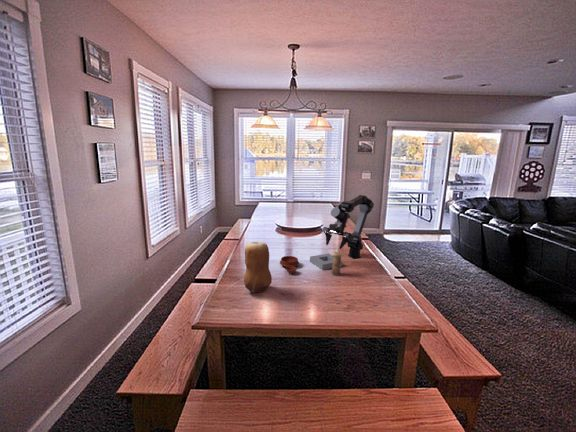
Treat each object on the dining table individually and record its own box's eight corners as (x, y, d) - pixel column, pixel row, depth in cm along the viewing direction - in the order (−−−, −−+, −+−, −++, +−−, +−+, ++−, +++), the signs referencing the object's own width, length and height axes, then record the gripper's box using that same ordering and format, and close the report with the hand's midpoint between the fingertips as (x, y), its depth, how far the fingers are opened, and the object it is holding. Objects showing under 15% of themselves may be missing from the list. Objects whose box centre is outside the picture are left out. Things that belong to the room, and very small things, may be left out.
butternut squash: (257, 281, 155) (257, 236, 149) (277, 290, 146) (277, 242, 141) (237, 291, 144) (237, 242, 138) (257, 300, 136) (257, 249, 130)
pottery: (297, 262, 183) (298, 255, 182) (302, 275, 164) (302, 268, 163) (279, 262, 182) (279, 255, 181) (281, 276, 163) (281, 268, 162)
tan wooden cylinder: (336, 272, 169) (338, 251, 167) (341, 275, 166) (343, 254, 163) (330, 273, 167) (331, 252, 165) (335, 276, 163) (336, 255, 161)
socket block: (328, 258, 190) (328, 253, 189) (341, 266, 178) (342, 260, 177) (309, 261, 184) (310, 256, 183) (322, 270, 172) (322, 264, 171)
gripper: (321, 215, 175) (313, 239, 173) (349, 220, 163) (340, 247, 160) (330, 220, 183) (322, 244, 181) (357, 226, 171) (349, 252, 169)
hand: (333, 247), depth 173 cm, fingers open, 9 cm apart
